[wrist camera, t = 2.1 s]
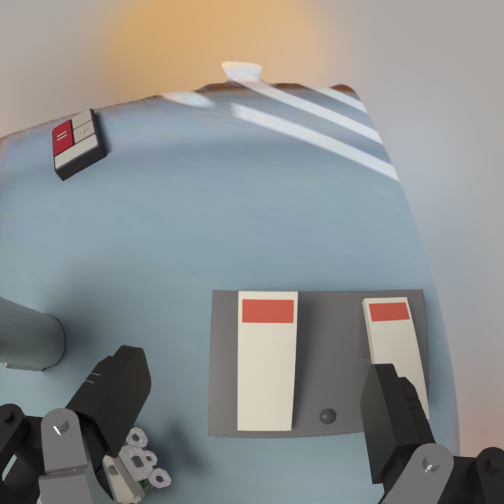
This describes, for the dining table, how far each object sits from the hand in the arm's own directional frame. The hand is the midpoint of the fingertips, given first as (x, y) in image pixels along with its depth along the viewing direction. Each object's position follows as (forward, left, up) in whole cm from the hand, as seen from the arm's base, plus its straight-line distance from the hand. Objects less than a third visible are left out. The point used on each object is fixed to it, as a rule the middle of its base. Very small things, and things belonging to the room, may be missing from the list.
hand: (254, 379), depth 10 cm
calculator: (+9, +56, -35) cm, 67 cm away
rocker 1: (+1, -1, -23) cm, 23 cm away
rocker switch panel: (+6, -7, -34) cm, 35 cm away
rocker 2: (+10, -13, -23) cm, 28 cm away
